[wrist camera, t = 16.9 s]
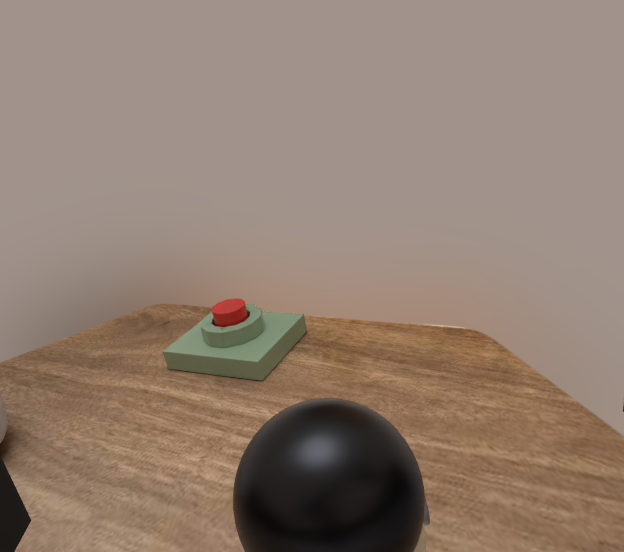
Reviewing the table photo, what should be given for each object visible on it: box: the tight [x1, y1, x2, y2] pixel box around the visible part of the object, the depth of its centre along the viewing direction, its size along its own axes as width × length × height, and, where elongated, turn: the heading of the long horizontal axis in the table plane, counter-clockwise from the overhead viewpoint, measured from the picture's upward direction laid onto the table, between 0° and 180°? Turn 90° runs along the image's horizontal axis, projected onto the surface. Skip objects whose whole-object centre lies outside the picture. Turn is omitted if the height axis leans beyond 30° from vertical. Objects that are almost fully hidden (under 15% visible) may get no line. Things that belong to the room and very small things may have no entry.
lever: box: [233, 398, 425, 552], centre depth 14 cm, size 13×4×4 cm
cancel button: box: [211, 299, 248, 327], centre depth 56 cm, size 4×4×2 cm
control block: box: [163, 304, 307, 381], centre depth 57 cm, size 12×10×4 cm
